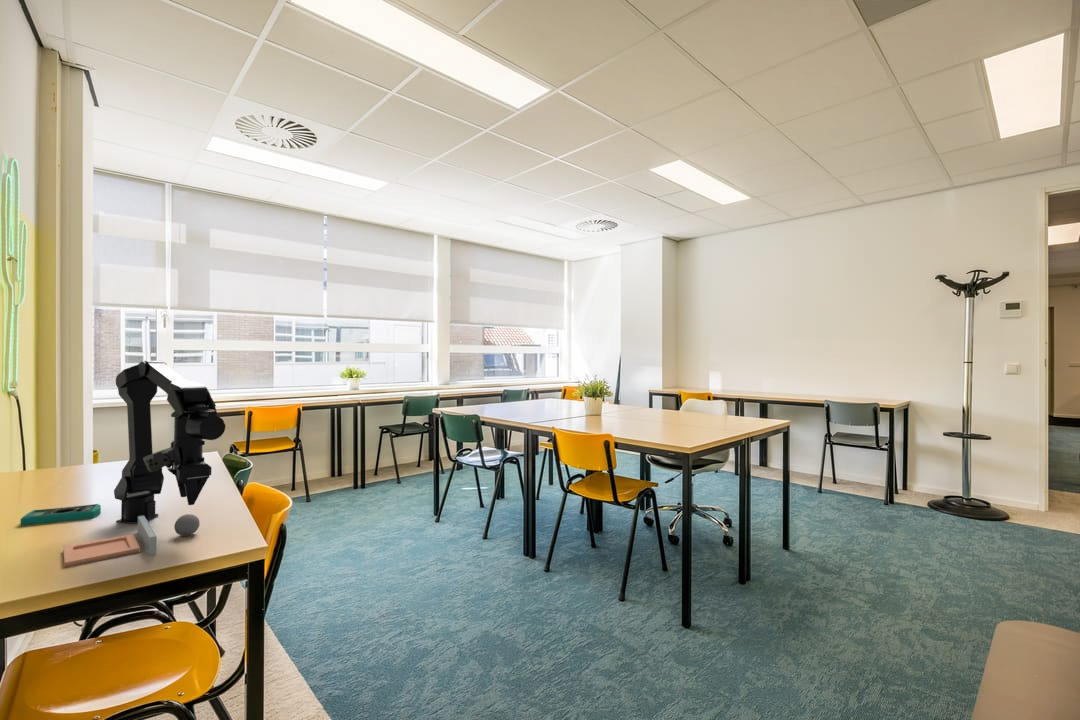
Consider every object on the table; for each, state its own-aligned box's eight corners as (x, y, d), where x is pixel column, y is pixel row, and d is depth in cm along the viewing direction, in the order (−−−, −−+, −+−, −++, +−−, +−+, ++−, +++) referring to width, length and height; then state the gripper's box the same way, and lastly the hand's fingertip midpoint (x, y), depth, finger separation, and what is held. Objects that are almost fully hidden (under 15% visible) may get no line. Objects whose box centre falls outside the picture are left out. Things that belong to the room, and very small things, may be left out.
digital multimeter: (96, 520, 133) (96, 508, 133) (18, 528, 125) (18, 516, 125) (103, 512, 139) (103, 502, 139) (29, 520, 131) (30, 509, 132)
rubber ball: (168, 538, 118) (169, 517, 118) (184, 531, 123) (184, 511, 123) (189, 539, 118) (190, 517, 118) (204, 531, 123) (204, 511, 123)
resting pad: (63, 551, 110) (63, 546, 110) (133, 538, 118) (133, 533, 118) (64, 567, 101) (64, 562, 101) (139, 552, 110) (140, 547, 110)
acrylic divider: (137, 532, 122) (137, 516, 122) (143, 531, 123) (143, 515, 123) (149, 556, 108) (149, 537, 108) (156, 554, 109) (156, 536, 109)
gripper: (141, 435, 122) (139, 498, 122) (152, 445, 109) (151, 516, 109) (195, 431, 130) (194, 491, 130) (212, 440, 116) (211, 506, 116)
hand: (187, 500), depth 121 cm, fingers open, 9 cm apart
